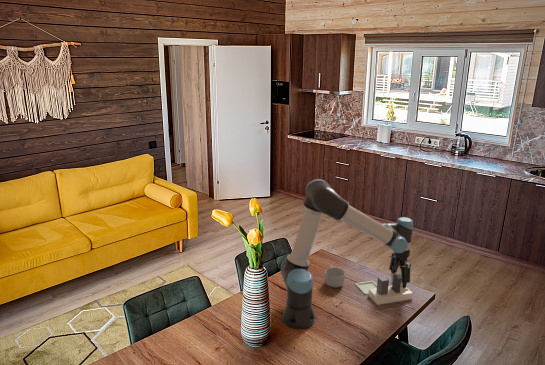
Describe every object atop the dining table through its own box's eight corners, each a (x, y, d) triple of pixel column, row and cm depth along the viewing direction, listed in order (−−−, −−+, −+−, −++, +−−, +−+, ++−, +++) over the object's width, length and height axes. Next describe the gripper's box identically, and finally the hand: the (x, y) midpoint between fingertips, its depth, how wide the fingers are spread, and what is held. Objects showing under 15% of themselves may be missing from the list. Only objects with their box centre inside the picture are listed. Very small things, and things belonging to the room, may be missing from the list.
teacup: (345, 290, 226) (346, 276, 224) (324, 289, 226) (325, 276, 224) (341, 277, 240) (342, 264, 237) (322, 276, 240) (323, 263, 237)
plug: (402, 296, 220) (404, 277, 216) (395, 298, 218) (397, 278, 215) (398, 292, 223) (400, 274, 220) (391, 293, 222) (393, 275, 219)
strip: (377, 305, 213) (379, 284, 210) (368, 296, 221) (370, 275, 218) (411, 299, 219) (414, 279, 215) (401, 290, 227) (404, 270, 224)
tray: (364, 295, 222) (364, 293, 222) (354, 284, 232) (355, 283, 232) (383, 292, 225) (383, 290, 225) (372, 282, 235) (373, 280, 235)
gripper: (421, 256, 205) (415, 297, 211) (397, 238, 224) (393, 277, 230) (407, 257, 203) (402, 300, 209) (384, 240, 222) (380, 279, 228)
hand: (397, 288), depth 220 cm, fingers open, 8 cm apart
